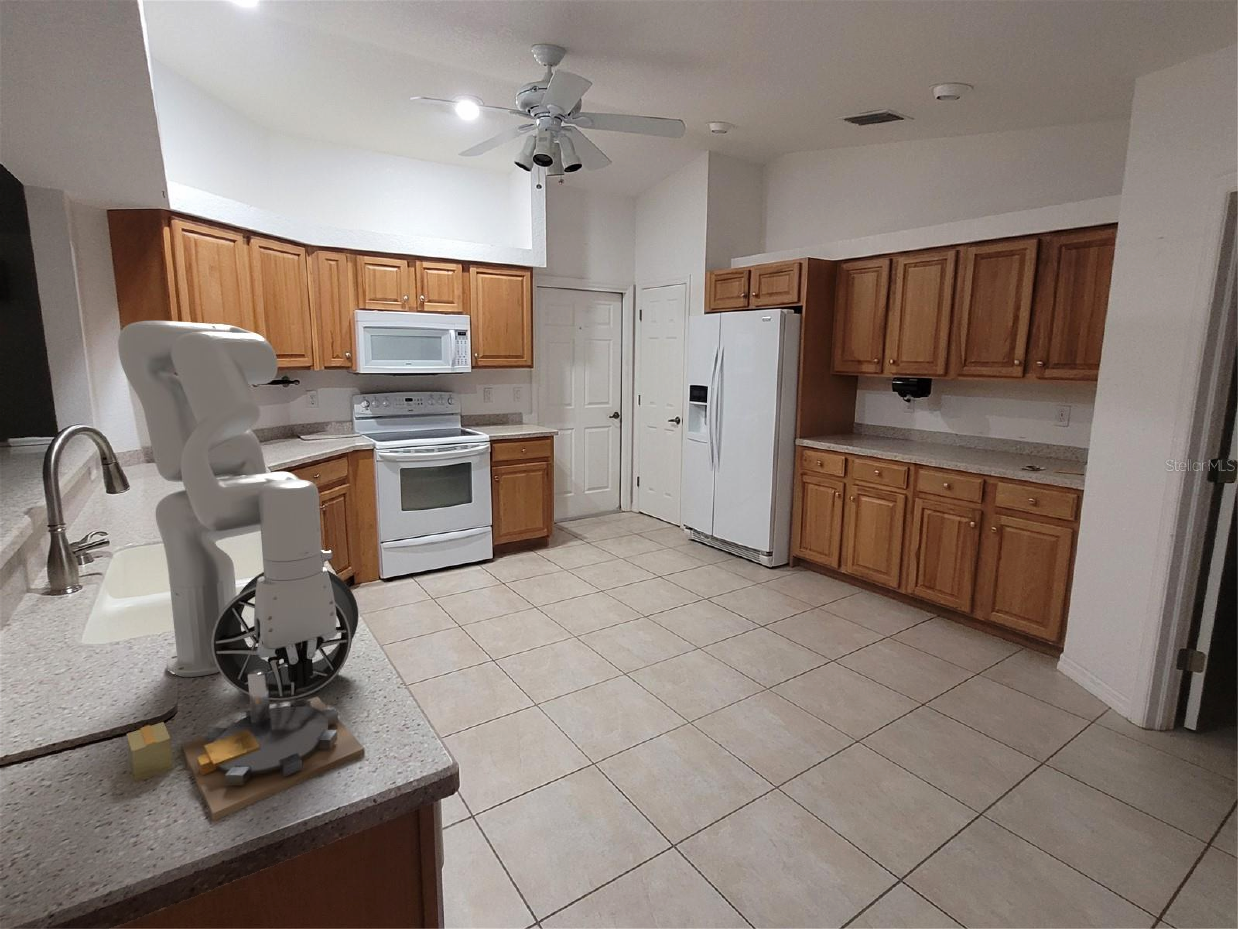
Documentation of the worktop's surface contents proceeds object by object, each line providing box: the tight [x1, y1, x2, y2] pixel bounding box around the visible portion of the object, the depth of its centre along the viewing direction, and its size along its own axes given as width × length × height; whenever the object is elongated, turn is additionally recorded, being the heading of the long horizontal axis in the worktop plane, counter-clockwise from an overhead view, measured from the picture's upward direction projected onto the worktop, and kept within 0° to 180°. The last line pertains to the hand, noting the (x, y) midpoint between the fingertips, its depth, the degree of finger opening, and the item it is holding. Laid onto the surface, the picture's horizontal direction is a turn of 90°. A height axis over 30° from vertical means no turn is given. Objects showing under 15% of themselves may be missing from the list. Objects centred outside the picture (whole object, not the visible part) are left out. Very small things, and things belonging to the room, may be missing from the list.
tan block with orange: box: [125, 721, 174, 783], centre depth 81 cm, size 5×4×5 cm
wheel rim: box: [211, 569, 360, 701], centre depth 100 cm, size 20×9×20 cm, turn 105°
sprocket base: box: [180, 696, 366, 821], centre depth 84 cm, size 18×18×1 cm
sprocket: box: [197, 669, 339, 785], centre depth 83 cm, size 17×17×8 cm
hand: (301, 682), depth 90 cm, fingers closed
